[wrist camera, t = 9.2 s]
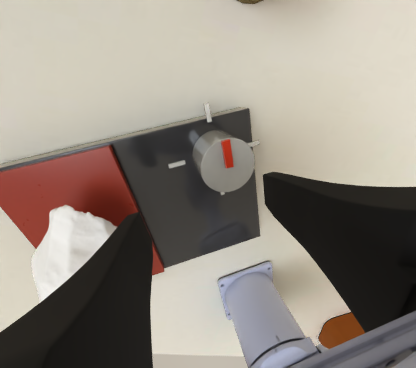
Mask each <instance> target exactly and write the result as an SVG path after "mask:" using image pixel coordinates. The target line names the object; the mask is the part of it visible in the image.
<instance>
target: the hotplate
mask: <svg viewBox="0 0 416 368" xmlns="http://www.w3.org/2000/svg"><path fill="white" fill-rule="evenodd" d="M64 205H68V206H71V207H72V208H74V210H75V211H79V212H83V213H87V212H90V213H91V214H92V215H93V216H95V217H100V218H103V219H105V220H107V221H110V222H111V223H112V224H113V225H114V226H117V227H118V226H119V225H120V223H121V222H122V221H123V220H124V219H125V218H126V216H127V215H130V214H133V213H137V212H140V211H139V208H138V206H137V204H136V201H135V199H134V197H133V195H132V192H131V190H130V188H129V185H128V183H127V181H126V179H125V176H124V174H123V172H122V169H121V167H120V165H119V163H118V160H117V158H116V156H115V153H114V151H113V149H112V147H111V145H106V146H102V147H98V148H94V149H90V150H86V151H82V152H77V153H73V154H69V155H65V156H61V157H57V158H53V159H49V160H44V161H40V162H36V163H32V164H28V165H24V166H20V167H16V168H11V169H7V170H3V171H0V207H1V208H2V209H3V210H4V211H5V213H6V214H7V215H8V216H9V217H10V219H11V220H12V221H13V222H14V223H15V225H16V226H17V227H18V228H19V229H20V230H21V232H22V233H23V234H24V235H25V236H26V238H27V239H28V240H29V241H30V242H31V244H32V245H33V246H34V247H35V248H36V249H37V247H38V246H39V245H40V243H41V242H42V240H43V238H44V236H45V235H46V233H47V231H48V228H49V213H50V211H51V210H53V209H55V208H59V207H62V206H64ZM140 214H141V213H140ZM141 217H142V215H141ZM142 219H143V217H142ZM143 221H144V220H143ZM144 223H145V222H144ZM145 225H146V224H145ZM146 228H147V227H146ZM147 230H148V229H147ZM148 232H149V231H148ZM149 234H150V233H149ZM150 237H151V236H150ZM151 239H152V238H151ZM152 246H153V268H152V275H155V274H158V273H161V272H164V265H163V263H162V261H161V259H160V256H159V254H158V252H157V249H156V247H155V245H154V243H153V240H152Z"/></svg>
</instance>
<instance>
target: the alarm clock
mask: <svg viewBox="0 0 416 368" xmlns="http://www.w3.org/2000/svg"><path fill="white" fill-rule="evenodd" d="M362 334H365V332H364V330H363V329H362V327H361V326H360V324H359V323H358V321H357V320H356V318H355V317H354V315H353V314H352V313H349V314H346V315H342V316H339V317H336V318H333V319H331V320H329V321H327V322H326V323H325V325H324V326H323V329H322V331H321V333H320V336H319V341H320V342H321V344H322V345H323V346H324V347H326V348H328V349H331V348H333V347H335V346H338V345H340V344H342V343H344V342H347V341H349V340H351V339H353V338H356V337H358V336H360V335H362ZM395 366H396V365H395ZM393 367H394V366H393ZM391 368H392V367H391Z"/></svg>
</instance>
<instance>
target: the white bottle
mask: <svg viewBox="0 0 416 368" xmlns="http://www.w3.org/2000/svg"><path fill="white" fill-rule="evenodd" d="M116 228H117V226H114V225H113V224H112V223H111V222H110V221H107V220H105V219H103V218H100V217H95V216H93V215H92V214H91V213H90V212H87V213H83V212H79V211H75V210H74V208H72V207H71V206H68V205H64V206H62V207H59V208H55V209H53V210H51V211H50V213H49V228H48V231H47V233H46V235H45V236H44V238H43V240H42V242H41V243H40V245H39V246H38V247H37V249H36V250H35V253H34V254H33V256H32V260H31V268H32V274H33V278H34V282H35V285H36V288H37V292H38V296H39V302H42V301H43V300H44V299H45V298H47V297H48V296H49V295H50V294H51V293H53V292H54V291H55V290H56V289H57V288H58V287H60V286H61V285H62V284H63V283H64V282H66V281H67V280H68V279H69V278H70V277H71V276H72V275H73V274H74V273H76V272H77V271H78V270H79V269H80V268H81V267H82V266H83V265H84V264H85V263H86V262H87V261H88V260H89V259H90V258H91V257H92V256H93V255H94V253H95V252H96V251H97V250H98V249H99V248H100V247H101V246H102V245H103V244H104V242H105V241H106V240H107V239H108V238H109V237H110V235H111V234H112V233H113V232H114V231H115V229H116Z"/></svg>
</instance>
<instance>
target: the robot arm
mask: <svg viewBox="0 0 416 368" xmlns="http://www.w3.org/2000/svg"><path fill="white" fill-rule="evenodd" d="M263 183H264V197H265V205H266V206H267V208H268V209H269V210H270V212H271V213H272V214H273V216H274V217H275V218H276V219H277V220H278V221H279V222H280V223H281V224H282V225H283V227H284V228H285V229H286V230H287V231H288V232H289V233H290V234H291V235H292V236H293V237H294V238H295V239H296V240H297V241H298V242H299V243H300V244H301V245H302V246H303V247H304V248H305V250H306V251H307V252H308V253H309V254H310V256H311V257H312V258H313V259H314V261H315V262H316V263H317V265H318V266H319V267H320V268H321V270H322V271H323V272H324V274H325V275H326V276H327V278H328V279H329V280H330V282H331V283H332V285H333V286H334V287H335V289H336V290H337V292H338V293H339V294H340V296H341V297H342V299H343V300H344V302H345V303H346V304H347V306H348V307H349V309H350V310H351V312H352V314H353V315H354V317H355V318H356V320H357V321H358V323H359V324H360V326H361V327H362V329H363V330H364V332H365V334H362V335H360V336H358V337H356V338H353V339H351V340H349V341H347V342H344V343H342V344H340V345H338V346H335V347H333V348H331V349H328V348H326V347H324V346H323V345H321V344H319V345H317V346H316V347H315V345H314V343H313V342H312V340H311V339H310V337H307V338H306V336H305V335H304V333H303V332H302V330H301V328H300V327H299V325H298V324H297V322H296V320H295V319H294V317H293V315H292V314H291V312H290V311H289V309H288V307H287V306H286V304H285V302H284V301H283V299H282V298H281V296H280V294H279V293H278V291H277V289H276V288H275V286H274V285H273V274H272V264H271V262H266V263H263V264H260V265H257V266H254V267H252V268H249V269H246V270H243V271H240V272H238V273H235V274H232V275H229V276H226V277H224V278H221V279H219V280H218V285H219V289H220V293H221V296H222V300H223V304H224V308H225V312H226V316H227V319H229V320H230V319H232V321H233V324H234V327H235V330H236V333H237V336H238V339H239V342H240V345H241V348H242V351H243V354H244V357H245V360H246V363H247V365H248V368H391V367H392V368H416V187H372V186H355V185H346V184H337V183H329V182H323V181H317V180H312V179H307V178H302V177H298V176H293V175H288V174H283V173H278V172H271V173H267V174H264V175H263ZM152 268H153V246H152V239H151V237H150V234H149V232H148V230H147V228H146V225H145V223H144V221H143V219H142V217H141V214H140V212H137V213H133V214H130V215H127V216H126V218H125V219H124V220H123V221H122V222H121V223H120V225H119V226H118V227H117V228H116V229H115V231H114V232H113V233H112V234H111V235H110V237H109V238H108V239H107V240H106V241H105V242H104V244H103V245H102V246H101V247H100V248H99V249H98V250H97V251H96V252H95V253H94V255H93V256H92V257H91V258H90V259H89V260H88V261H87V262H86V263H85V264H84V265H83V266H82V267H81V268H80V269H79V270H78V271H77V272H76V273H74V274H73V275H72V276H71V277H70V278H69V279H68V280H67V281H66V282H64V283H63V284H62V285H61V286H60V287H58V288H57V289H56V290H55V291H54V292H53V293H51V294H50V295H49V296H48V297H47V298H45V299H44V300H43V301H42V302H40V303H39V304H38V305H37V306H35V307H34V308H33V309H31V310H30V311H29V312H28V313H26V314H25V315H24V316H22V317H21V318H20V319H18V320H17V321H15V322H14V323H13V324H11V325H10V326H9V327H7V328H6V329H5V330H3V331H2V332H0V368H153V364H152V363H153V362H152V344H151V320H150V296H151V282H152ZM395 365H396V366H395ZM393 366H394V367H393Z"/></svg>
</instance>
